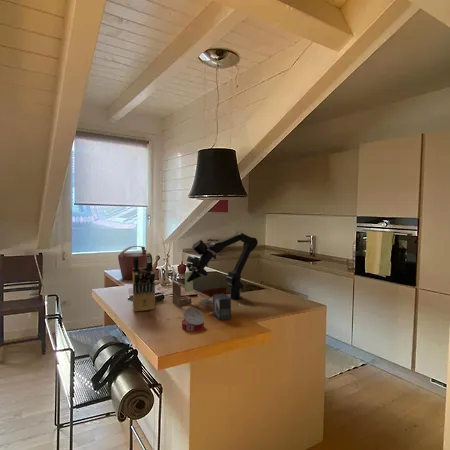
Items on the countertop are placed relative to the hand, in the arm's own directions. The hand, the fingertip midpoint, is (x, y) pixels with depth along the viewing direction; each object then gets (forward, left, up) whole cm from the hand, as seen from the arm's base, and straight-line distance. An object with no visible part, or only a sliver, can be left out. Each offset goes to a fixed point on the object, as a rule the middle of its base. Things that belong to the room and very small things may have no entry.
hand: (186, 281), depth 185 cm
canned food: (+27, +24, -14) cm, 39 cm away
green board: (-1, +1, -6) cm, 6 cm away
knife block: (+16, -17, -13) cm, 27 cm away
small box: (+7, +27, -14) cm, 31 cm away
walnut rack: (+1, -1, -13) cm, 13 cm away
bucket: (-37, -78, -14) cm, 88 cm away
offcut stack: (+1, +14, -13) cm, 19 cm away
